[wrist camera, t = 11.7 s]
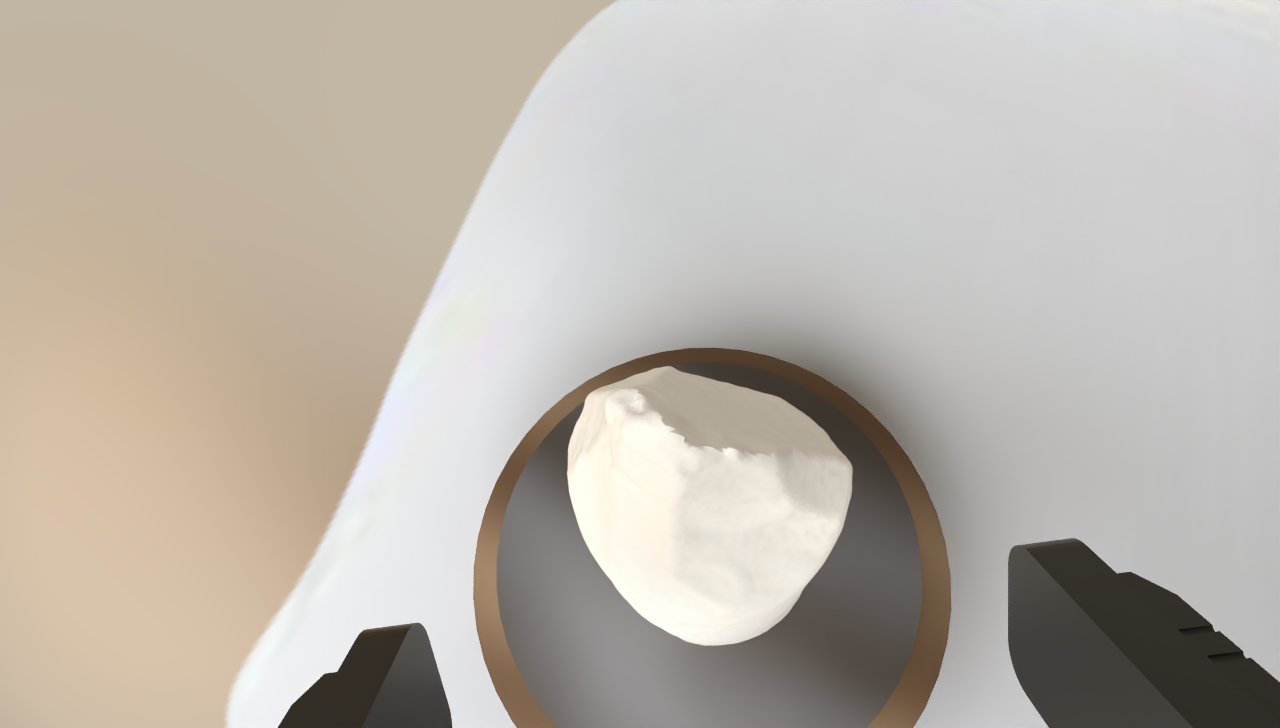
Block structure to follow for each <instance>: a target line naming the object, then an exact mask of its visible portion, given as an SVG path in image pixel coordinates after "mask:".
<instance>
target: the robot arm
mask: <svg viewBox="0 0 1280 728" xmlns="http://www.w3.org/2000/svg"><path fill="white" fill-rule="evenodd" d="M1008 642H1009V651H1010V656H1011V660H1012V664H1013V667H1014V670H1015V673H1016V675H1017V678H1018V680H1019V682H1020V684H1021V686H1022V688H1023V690H1024V692H1025V693H1026V695H1027V696H1028V698H1029V699H1030V701H1031V702H1032V704H1033V705H1034V707H1035V708H1036V709H1037V711H1038V712H1039V714H1040V715H1041V717H1042V718H1043V720H1044V721H1045V722H1046V724H1047V725H1048V727H1049V728H1280V682H1278V681H1277V680H1276V679H1275V678H1274V677H1273V676H1271V675H1270V674H1269V673H1268V672H1267V671H1266V670H1264V669H1263V668H1262V667H1261V666H1260V665H1259V664H1257V663H1256V662H1255V661H1254V660H1253V659H1252V658H1247V659H1246V658H1245V656H1244V654H1243V651H1242V650H1241V649H1240V648H1239V647H1237V646H1236V645H1235V644H1234V643H1233V642H1232V641H1230V640H1229V639H1228V638H1227V637H1226V636H1225V635H1223V634H1222V633H1221V632H1220V631H1218V632H1215V631H1214V629H1213V626H1212V624H1211V623H1209V622H1208V621H1207V620H1206V619H1205V618H1204V617H1202V616H1201V615H1200V614H1199V613H1198V612H1196V611H1195V610H1194V609H1193V608H1192V607H1191V606H1189V605H1188V604H1187V603H1186V602H1185V601H1184V600H1182V599H1181V598H1180V597H1179V596H1178V595H1176V594H1174V593H1172V592H1170V591H1168V590H1166V589H1164V588H1162V587H1160V586H1158V585H1156V584H1154V583H1152V582H1150V581H1148V580H1146V579H1144V578H1142V577H1140V576H1138V575H1136V574H1134V573H1132V572H1125V573H1118V574H1117V573H1116V572H1115V571H1113V570H1112V569H1111V568H1110V567H1109V566H1108V565H1107V564H1106V563H1105V562H1104V561H1103V560H1102V559H1100V558H1099V557H1098V556H1097V555H1096V554H1095V553H1094V552H1093V551H1092V550H1091V549H1090V548H1088V547H1087V546H1086V545H1085V544H1084V543H1083V542H1081V541H1080V540H1078V539H1074V538H1071V539H1063V540H1055V541H1048V542H1040V543H1032V544H1025V545H1017V546H1014V547H1013V548H1012V549H1011V551H1010V554H1009V562H1008ZM278 728H452V719H451V713H450V709H449V705H448V702H447V698H446V695H445V691H444V688H443V685H442V681H441V678H440V675H439V671H438V668H437V664H436V661H435V658H434V654H433V651H432V648H431V644H430V641H429V637H428V635H427V632H426V630H425V628H424V627H423V626H422V625H421V624H420V623H412V624H405V625H397V626H389V627H382V628H374V629H367V630H364V631H362V632H361V633H360V634H359V636H358V637H357V639H356V640H355V642H354V644H353V645H352V647H351V649H350V651H349V652H348V654H347V656H346V658H345V659H344V661H343V663H342V665H341V666H340V668H339V670H338V672H334V673H327V674H324V675H323V676H322V677H321V678H320V679H319V680H318V681H317V682H316V683H315V684H314V685H312V686H311V687H310V688H309V689H308V690H307V691H306V692H305V693H304V694H303V695H302V696H301V697H300V698H299V699H298V700H297V701H296V702H295V703H293V704H292V706H291V707H290V709H289V710H288V712H287V714H286V715H285V717H284V718H283V720H282V722H281V723H280V725H279V727H278Z"/></svg>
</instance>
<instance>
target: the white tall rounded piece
mask: <svg viewBox="0 0 1280 728" xmlns="http://www.w3.org/2000/svg"><path fill="white" fill-rule="evenodd" d="M852 474H853V468H852V465H851V462H850V461H849V460H848V459H847V457H846V456H845V455H844V454H843V453H842V452H841V451H840V450H839V449H838V448H837V447H836V445H835V444H834V443H833V441H832V440H831V439H830V437H829V435H828V434H827V433H826V432H825V431H824V430H823V429H822V428H821V427H820V426H818V425H817V424H816V423H815V422H814V421H813V420H812V419H811V418H810V417H808V416H806V415H805V414H804V413H803V412H801V411H800V410H798V409H797V408H795V407H794V406H792V405H791V404H789V403H788V402H786V401H785V400H783V399H782V398H780V397H777V396H774V395H770V394H766V393H761V392H758V391H754V390H751V389H749V388H745V387H739V386H736V385H733V384H730V383H726V382H720V381H716V380H713V379H709V378H706V377H702V376H698V375H693V374H689V373H684V372H681V371H678V370H677V369H675V368H673V367H671V366H665V367H661V368H654V369H652V370H649V371H647V372H644V373H640V374H636V375H633V376H631V377H629V378H627V379H625V380H622V381H619V382H616V383H613V384H610V385H607V386H603V387H601V388H598V389H596V390H594V391H592V392H591V393H590V394H589V395H588V396H587V397H586V400H585V404H584V408H583V411H582V413H581V415H580V417H579V419H578V421H577V422H576V425H575V427H574V430H573V433H572V436H571V438H570V442H569V446H568V471H567V476H568V487H569V494H570V498H571V502H572V506H573V509H574V512H575V515H576V519H577V522H578V525H579V528H580V531H581V533H582V536H583V538H584V540H585V542H586V544H587V546H588V548H589V550H590V552H591V554H592V555H593V557H594V558H595V560H596V561H597V563H598V564H599V566H600V567H601V568H602V570H603V571H604V572H605V574H606V575H607V576H608V577H609V579H610V580H611V581H612V583H613V584H614V586H615V587H616V589H617V590H618V591H619V592H620V594H621V595H622V596H623V597H624V598H625V599H626V600H627V601H628V602H629V603H630V605H631V606H632V607H633V608H634V609H635V610H636V611H637V612H638V613H639V614H640V615H641V616H643V617H644V618H645V619H647V620H648V621H649V622H651V623H652V624H654V625H656V626H658V627H660V628H662V629H663V630H665V631H667V632H668V633H670V634H672V635H674V636H677V637H679V638H680V639H682V640H684V641H686V642H690V643H694V644H699V645H704V646H709V645H711V646H715V645H727V644H735V643H740V642H743V641H746V640H749V639H752V638H754V637H756V636H759V635H761V634H762V633H764V632H766V631H768V630H769V629H770V628H772V627H773V626H774V625H775V624H777V623H778V622H780V621H781V620H782V619H783V618H784V617H785V616H786V615H787V614H788V613H789V612H790V610H791V609H792V607H793V605H794V604H795V603H796V602H797V600H798V599H799V597H800V595H801V593H802V591H803V589H804V587H805V586H806V585H807V584H808V583H809V581H810V580H811V579H812V578H813V577H814V575H815V574H816V573H817V572H818V570H819V569H820V568H821V567H822V565H823V564H824V562H825V561H826V559H827V557H828V556H829V554H830V552H831V550H832V549H833V547H834V545H835V543H836V541H837V539H838V537H839V535H840V533H841V531H842V528H843V526H844V522H845V518H846V514H847V509H848V506H849V502H850V498H851V494H852Z"/></svg>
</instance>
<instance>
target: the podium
mask: <svg viewBox="0 0 1280 728" xmlns="http://www.w3.org/2000/svg"><path fill="white" fill-rule="evenodd" d="M665 366H671V367H673V368H675V369H677V370H678V371H681V372H684V373H689V374H693V375H698V376H702V377H706V378H709V379H713V380H716V381H720V382H726V383H730V384H733V385H736V386H739V387H745V388H749V389H751V390H754V391H758V392H761V393H766V394H770V395H774V396H777V397H780V398H782V399H783V400H785V401H786V402H788V403H789V404H791V405H792V406H794V407H795V408H797V409H798V410H800V411H801V412H803V413H804V414H805V415H806V416H808V417H810V418H811V419H812V420H813V421H814V422H815V423H816V424H817V425H818V426H820V427H821V428H822V429H823V430H824V431H825V432H826V433H827V434H828V435H829V437H830V439H831V440H832V441H833V443H834V444H835V445H836V447H837V448H838V449H839V450H840V451H841V452H842V453H843V454H844V455H845V456H846V457H847V459H848V460H849V461H850V462H851V465H852V468H853V474H852V494H851V498H850V502H849V506H848V509H847V514H846V518H845V522H844V526H843V528H842V531H841V533H840V535H839V537H838V539H837V541H836V543H835V545H834V547H833V549H832V550H831V552H830V554H829V556H828V557H827V559H826V561H825V562H824V564H823V565H822V567H821V568H820V569H819V570H818V572H817V573H816V574H815V575H814V577H813V578H812V579H811V580H810V581H809V583H808V584H807V585H806V586H805V587H804V589H803V591H802V593H801V595H800V597H799V599H798V600H797V602H796V603H795V604H794V605H793V607H792V609H791V610H790V612H789V613H788V614H787V615H786V616H785V617H784V618H783V619H782V620H781V621H780V622H778V623H777V624H775V625H774V626H773V627H772V628H770V629H769V630H768V631H766V632H764V633H762V634H761V635H759V636H756V637H754V638H752V639H749V640H746V641H743V642H740V643H735V644H727V645H715V646H711V645H709V646H704V645H699V644H694V643H690V642H686V641H684V640H682V639H680V638H679V637H677V636H674V635H672V634H670V633H668V632H667V631H665V630H663V629H662V628H660V627H658V626H656V625H654V624H652V623H651V622H649V621H648V620H647V619H645V618H644V617H643V616H641V615H640V614H639V613H638V612H637V611H636V610H635V609H634V608H633V607H632V606H631V605H630V603H629V602H628V601H627V600H626V599H625V598H624V597H623V596H622V595H621V594H620V592H619V591H618V590H617V589H616V587H615V586H614V584H613V583H612V581H611V580H610V579H609V577H608V576H607V575H606V574H605V572H604V571H603V570H602V568H601V567H600V566H599V564H598V563H597V561H596V560H595V558H594V557H593V555H592V554H591V552H590V550H589V548H588V546H587V544H586V542H585V540H584V538H583V536H582V533H581V531H580V528H579V525H578V522H577V519H576V515H575V512H574V509H573V506H572V502H571V498H570V494H569V487H568V476H567V471H568V446H569V442H570V438H571V436H572V433H573V430H574V427H575V425H576V422H577V421H578V419H579V417H580V415H581V413H582V411H583V408H584V404H585V400H586V397H587V396H588V395H589V394H590V393H591V392H592V391H594V390H596V389H598V388H601V387H603V386H607V385H610V384H613V383H616V382H619V381H622V380H625V379H627V378H629V377H631V376H633V375H636V374H640V373H644V372H647V371H649V370H652V369H654V368H661V367H665ZM473 599H474V608H475V617H476V626H477V632H478V636H479V640H480V644H481V649H482V653H483V657H484V661H485V664H486V666H487V669H488V671H489V674H490V677H491V679H492V682H493V684H494V687H495V690H496V692H497V694H498V696H499V698H500V699H501V701H502V703H503V705H504V707H505V709H506V710H507V712H508V714H509V716H510V718H511V720H512V721H513V723H514V724H515V726H516V727H517V728H913V727H914V725H915V724H916V722H917V720H918V719H919V717H920V716H921V714H922V712H923V711H924V709H925V707H926V704H927V702H928V700H929V697H930V695H931V693H932V690H933V688H934V685H935V683H936V681H937V678H938V676H939V672H940V668H941V664H942V660H943V656H944V653H945V649H946V645H947V639H948V630H949V622H950V613H951V586H950V570H949V564H948V558H947V551H946V545H945V540H944V537H943V534H942V530H941V527H940V523H939V520H938V516H937V513H936V510H935V508H934V506H933V503H932V501H931V499H930V496H929V494H928V492H927V490H926V487H925V485H924V483H923V481H922V479H921V478H920V476H919V474H918V473H917V471H916V469H915V467H914V466H913V464H912V462H911V461H910V459H909V457H908V456H907V454H906V453H905V452H904V451H903V449H902V448H901V447H900V445H899V444H898V443H897V441H896V440H895V439H894V438H893V436H892V435H891V434H890V432H889V431H888V430H887V429H886V428H885V427H884V426H883V425H882V424H881V423H880V422H879V421H878V420H877V419H876V418H875V417H874V416H873V415H872V414H871V413H870V412H869V411H868V410H867V409H866V408H864V407H863V406H862V405H861V404H859V403H858V402H857V401H856V400H854V399H853V398H852V397H851V396H849V395H848V394H847V393H846V392H844V391H842V390H841V389H839V388H838V387H836V386H834V385H833V384H831V383H830V382H828V381H826V380H825V379H823V378H822V377H820V376H818V375H815V374H813V373H811V372H809V371H807V370H805V369H803V368H801V367H799V366H797V365H794V364H791V363H788V362H785V361H782V360H779V359H776V358H773V357H770V356H766V355H761V354H757V353H752V352H747V351H742V350H732V349H722V348H689V349H681V350H674V351H666V352H661V353H657V354H653V355H649V356H645V357H641V358H637V359H634V360H632V361H629V362H626V363H624V364H621V365H619V366H616V367H613V368H611V369H609V370H607V371H605V372H603V373H601V374H599V375H598V376H596V377H594V378H592V379H590V380H588V381H587V382H585V383H584V384H582V385H581V386H579V387H578V388H576V389H575V390H573V391H572V392H570V393H569V394H567V395H566V396H565V397H564V398H562V399H561V400H560V401H559V402H558V403H557V404H556V405H554V406H553V407H552V408H551V409H550V410H549V411H547V412H546V413H545V414H544V415H543V416H542V417H541V419H540V420H539V421H538V422H537V423H536V424H535V425H534V426H533V427H532V428H531V430H530V431H529V432H528V433H527V434H526V435H525V437H524V438H523V440H522V441H521V442H520V444H519V445H518V447H517V448H516V449H515V451H514V452H513V454H512V455H511V456H510V458H509V460H508V462H507V464H506V465H505V467H504V469H503V471H502V473H501V474H500V476H499V478H498V480H497V482H496V484H495V487H494V489H493V492H492V494H491V497H490V499H489V502H488V504H487V507H486V510H485V513H484V517H483V521H482V524H481V528H480V532H479V536H478V542H477V549H476V556H475V563H474V593H473Z"/></svg>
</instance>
